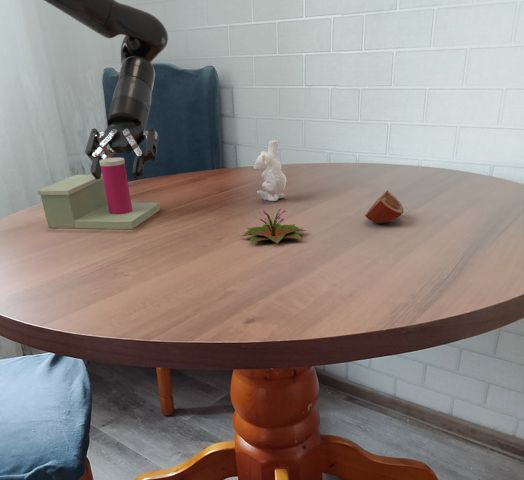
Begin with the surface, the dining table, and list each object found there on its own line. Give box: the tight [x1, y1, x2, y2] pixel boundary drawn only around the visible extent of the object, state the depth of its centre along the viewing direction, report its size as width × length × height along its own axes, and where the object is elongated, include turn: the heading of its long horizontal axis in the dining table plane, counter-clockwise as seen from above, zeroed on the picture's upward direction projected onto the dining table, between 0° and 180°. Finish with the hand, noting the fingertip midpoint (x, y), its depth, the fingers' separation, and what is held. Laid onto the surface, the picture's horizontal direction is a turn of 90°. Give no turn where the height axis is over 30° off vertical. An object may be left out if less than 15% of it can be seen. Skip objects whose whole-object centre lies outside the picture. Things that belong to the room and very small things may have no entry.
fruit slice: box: [364, 189, 404, 224], centre depth 97 cm, size 8×7×5 cm
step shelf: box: [36, 174, 161, 230], centre depth 109 cm, size 15×18×7 cm
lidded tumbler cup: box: [99, 157, 132, 214], centre depth 107 cm, size 5×5×10 cm
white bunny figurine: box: [253, 139, 288, 202], centre depth 115 cm, size 8×7×12 cm
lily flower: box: [241, 208, 307, 245], centre depth 93 cm, size 12×12×5 cm
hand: (115, 177), depth 106 cm, fingers open, 8 cm apart
